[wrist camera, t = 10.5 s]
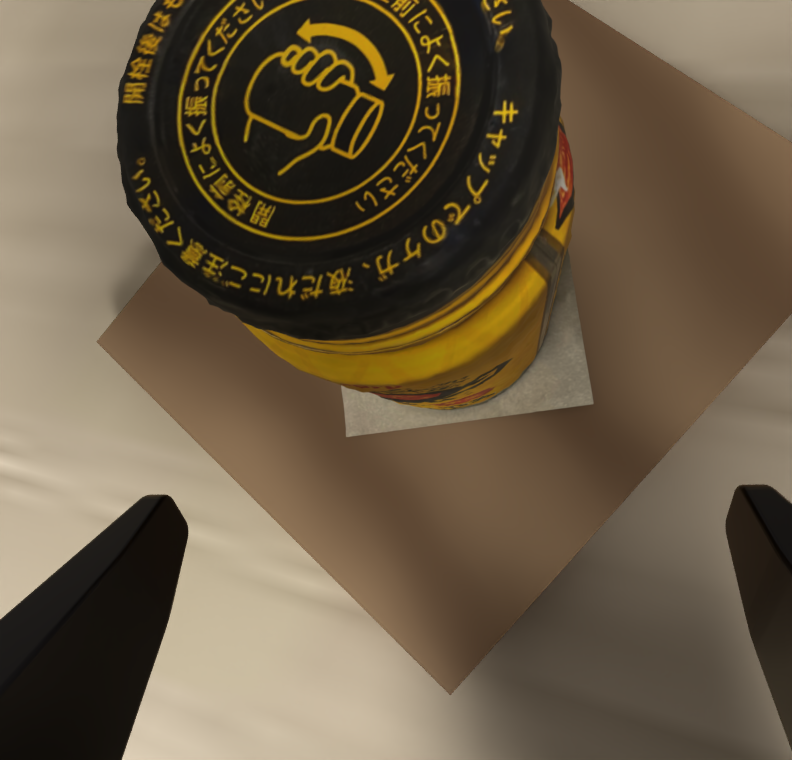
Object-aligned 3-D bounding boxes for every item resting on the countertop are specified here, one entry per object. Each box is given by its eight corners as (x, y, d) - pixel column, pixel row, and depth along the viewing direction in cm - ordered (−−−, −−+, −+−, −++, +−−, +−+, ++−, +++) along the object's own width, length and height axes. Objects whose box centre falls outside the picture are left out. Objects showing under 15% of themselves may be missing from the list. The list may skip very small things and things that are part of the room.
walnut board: (455, 674, 18) (450, 694, 17) (124, 348, 22) (96, 341, 20) (857, 224, 17) (889, 204, 16) (444, -46, 21) (439, -82, 19)
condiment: (348, 437, 18) (50, 438, 7) (318, 177, 19) (13, -223, 8) (593, 404, 17) (764, 333, 5) (547, 127, 18) (604, -452, 6)
